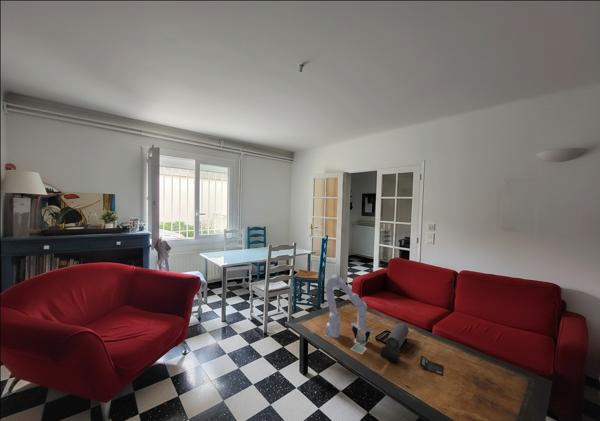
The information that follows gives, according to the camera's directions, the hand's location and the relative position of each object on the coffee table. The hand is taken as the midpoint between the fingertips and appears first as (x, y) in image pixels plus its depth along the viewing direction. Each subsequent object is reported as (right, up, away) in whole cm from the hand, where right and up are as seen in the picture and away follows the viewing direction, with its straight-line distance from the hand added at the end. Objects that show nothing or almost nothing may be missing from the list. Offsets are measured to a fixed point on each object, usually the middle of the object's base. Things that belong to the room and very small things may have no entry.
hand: (361, 339), depth 166 cm
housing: (0, -1, 0) cm, 1 cm away
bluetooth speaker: (+25, -3, +1) cm, 25 cm away
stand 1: (0, -2, 0) cm, 2 cm away
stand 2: (-4, -3, -8) cm, 10 cm away
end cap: (+14, -4, -16) cm, 22 cm away
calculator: (+36, -5, -22) cm, 42 cm away
